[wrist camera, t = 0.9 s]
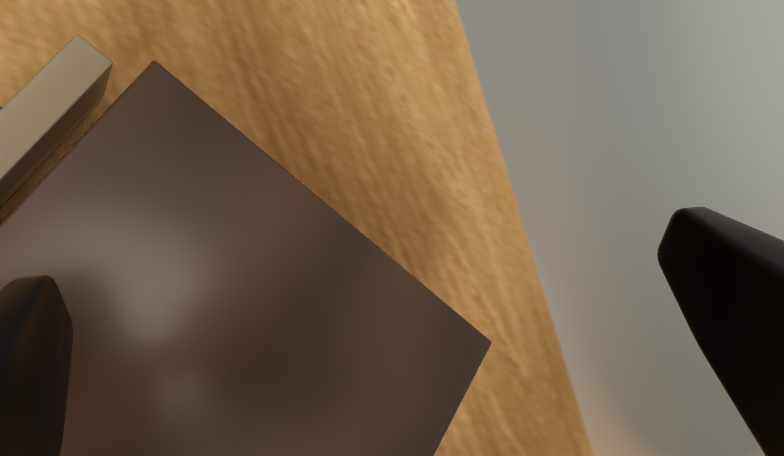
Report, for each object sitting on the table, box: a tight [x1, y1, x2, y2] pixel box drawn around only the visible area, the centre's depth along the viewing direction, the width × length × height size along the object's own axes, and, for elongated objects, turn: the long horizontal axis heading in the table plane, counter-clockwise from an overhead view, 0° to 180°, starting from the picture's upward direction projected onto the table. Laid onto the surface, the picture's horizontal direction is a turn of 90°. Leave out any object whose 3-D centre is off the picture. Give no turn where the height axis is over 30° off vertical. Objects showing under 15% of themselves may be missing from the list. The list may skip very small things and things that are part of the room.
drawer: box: [0, 35, 113, 207], centre depth 18 cm, size 19×12×4 cm, turn 52°
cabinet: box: [0, 61, 491, 456], centre depth 20 cm, size 15×13×6 cm
